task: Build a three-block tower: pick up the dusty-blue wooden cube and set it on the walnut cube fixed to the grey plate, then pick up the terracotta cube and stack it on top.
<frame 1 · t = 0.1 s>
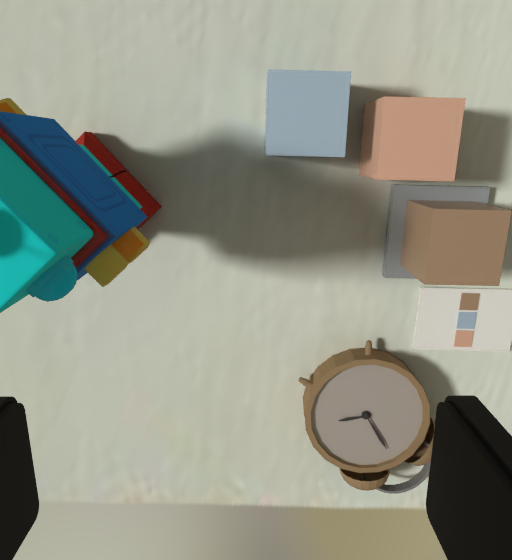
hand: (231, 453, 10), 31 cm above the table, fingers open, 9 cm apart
instruction card: (465, 319, 43), on the table
terracotta block: (395, 141, 39), on the table
toy robot: (108, 189, 40), on the table
blue block: (299, 119, 38), on the table
base: (432, 232, 40), on the table
alarm clock: (367, 411, 46), on the table
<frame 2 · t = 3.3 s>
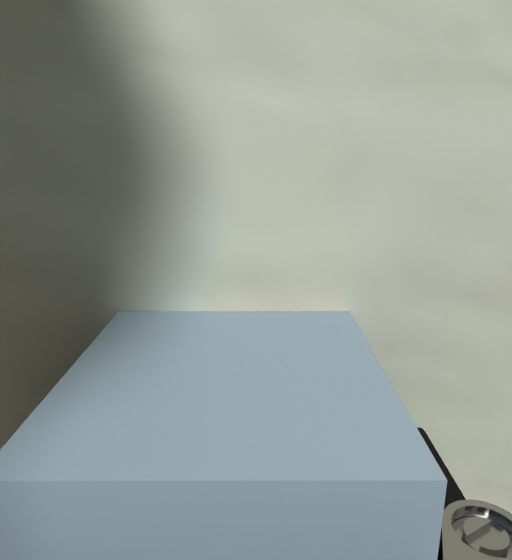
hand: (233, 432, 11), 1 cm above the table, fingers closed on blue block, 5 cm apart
blue block: (235, 413, 12), on the table, touching gripper
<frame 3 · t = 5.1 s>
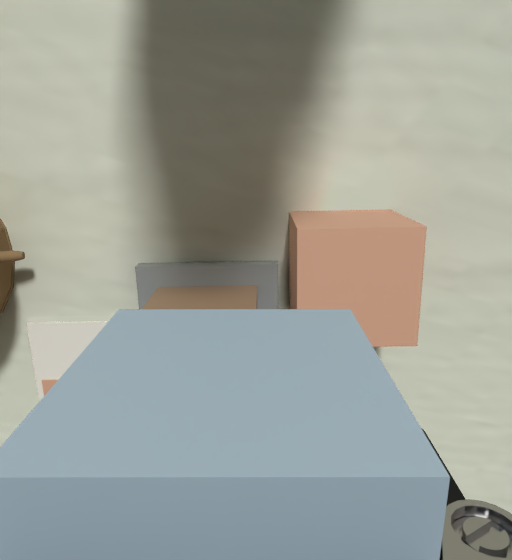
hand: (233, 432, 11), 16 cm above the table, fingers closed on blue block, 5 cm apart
instruction card: (86, 389, 29), on the table
terracotta block: (338, 259, 27), on the table
blue block: (236, 412, 12), point 15 cm above the table, touching gripper
base: (211, 327, 28), on the table
when the fingers open (9 cm above the table, at t = 7.1 s): blue block drops 1 cm, resting on base.
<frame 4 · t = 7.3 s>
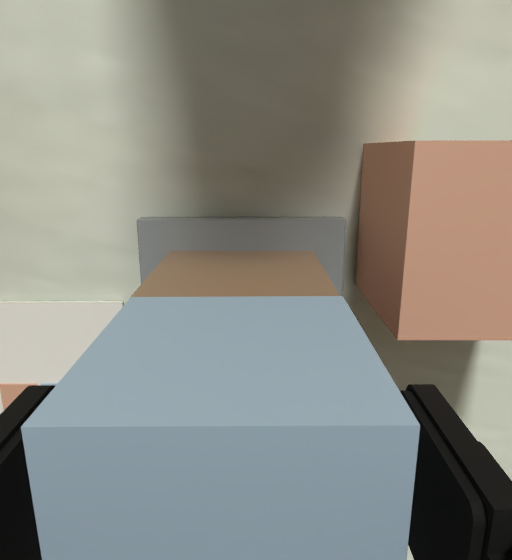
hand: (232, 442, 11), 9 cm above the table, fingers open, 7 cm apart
instruction card: (63, 397, 21), on the table
terracotta block: (428, 216, 19), on the table
blue block: (238, 391, 13), point 7 cm above the table, touching base
base: (242, 312, 20), on the table
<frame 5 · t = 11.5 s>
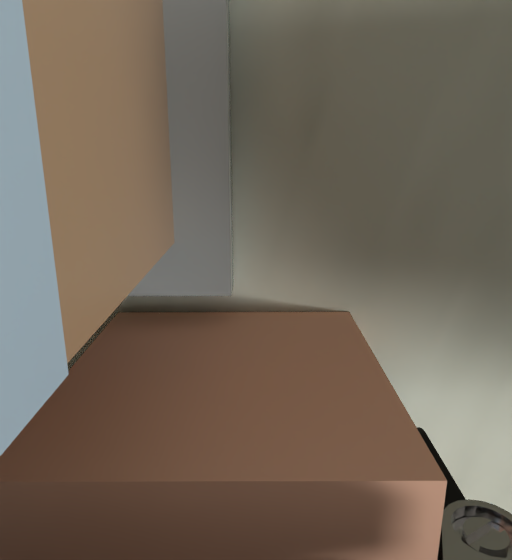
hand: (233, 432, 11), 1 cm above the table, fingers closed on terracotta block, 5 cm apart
terracotta block: (235, 414, 12), on the table, touching gripper
base: (44, 107, 10), on the table
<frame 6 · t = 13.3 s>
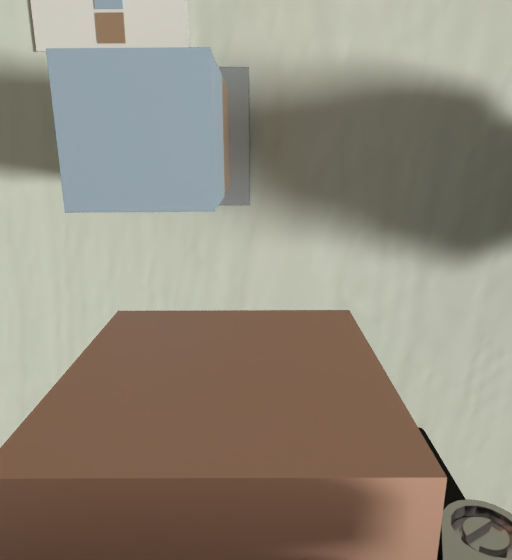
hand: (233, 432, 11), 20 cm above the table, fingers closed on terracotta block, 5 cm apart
terracotta block: (235, 412, 12), point 20 cm above the table, touching gripper
blue block: (165, 137, 22), point 7 cm above the table, touching base
base: (184, 139, 29), on the table
when the fingers open (15 cm above the table, at t = 15.5 s): terracotta block drops 1 cm, resting on blue block.
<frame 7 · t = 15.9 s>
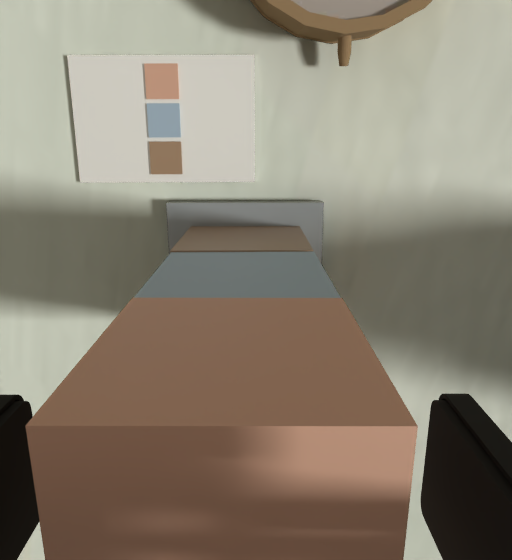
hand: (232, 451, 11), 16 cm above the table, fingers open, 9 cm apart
instruction card: (165, 120, 23), on the table
terracotta block: (238, 391, 13), point 13 cm above the table, touching blue block
blue block: (243, 319, 19), point 7 cm above the table, touching base, terracotta block
base: (245, 274, 25), on the table
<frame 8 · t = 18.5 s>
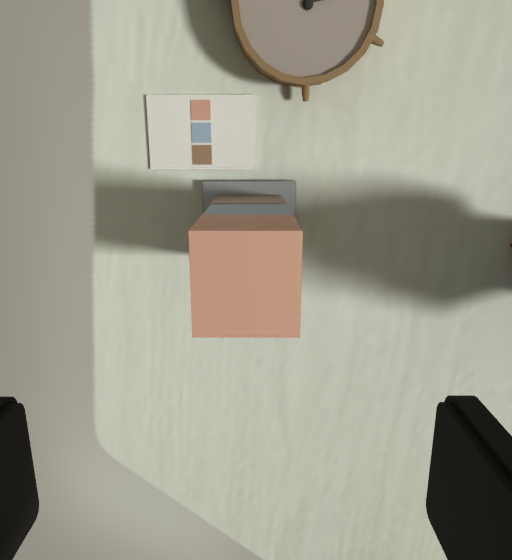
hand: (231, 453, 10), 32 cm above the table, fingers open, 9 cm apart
instruction card: (201, 132, 39), on the table
terracotta block: (247, 259, 29), point 13 cm above the table, touching blue block
blue block: (249, 241, 35), point 7 cm above the table, touching base, terracotta block
base: (249, 226, 42), on the table
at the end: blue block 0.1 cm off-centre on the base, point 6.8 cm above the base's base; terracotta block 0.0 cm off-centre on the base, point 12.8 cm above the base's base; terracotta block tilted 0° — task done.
